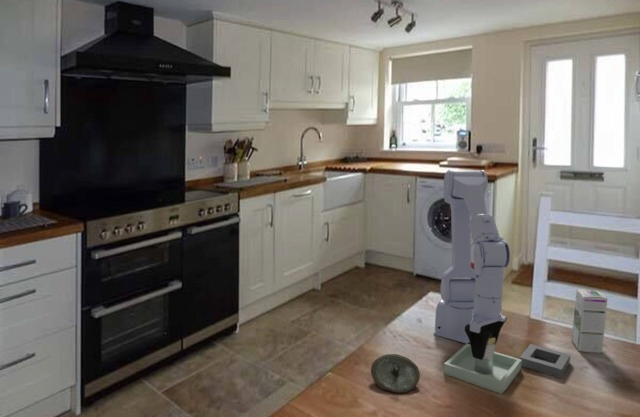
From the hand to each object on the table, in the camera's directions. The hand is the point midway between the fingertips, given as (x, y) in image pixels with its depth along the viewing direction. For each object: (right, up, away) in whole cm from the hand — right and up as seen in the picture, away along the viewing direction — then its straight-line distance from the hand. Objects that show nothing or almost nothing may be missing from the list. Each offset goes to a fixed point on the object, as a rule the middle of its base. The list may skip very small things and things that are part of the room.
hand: (484, 351), depth 108 cm
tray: (0, -5, +1) cm, 5 cm away
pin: (0, -4, +1) cm, 4 cm away
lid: (-21, -6, -3) cm, 22 cm away
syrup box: (+31, -3, +13) cm, 34 cm away
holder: (+16, -4, +5) cm, 17 cm away
